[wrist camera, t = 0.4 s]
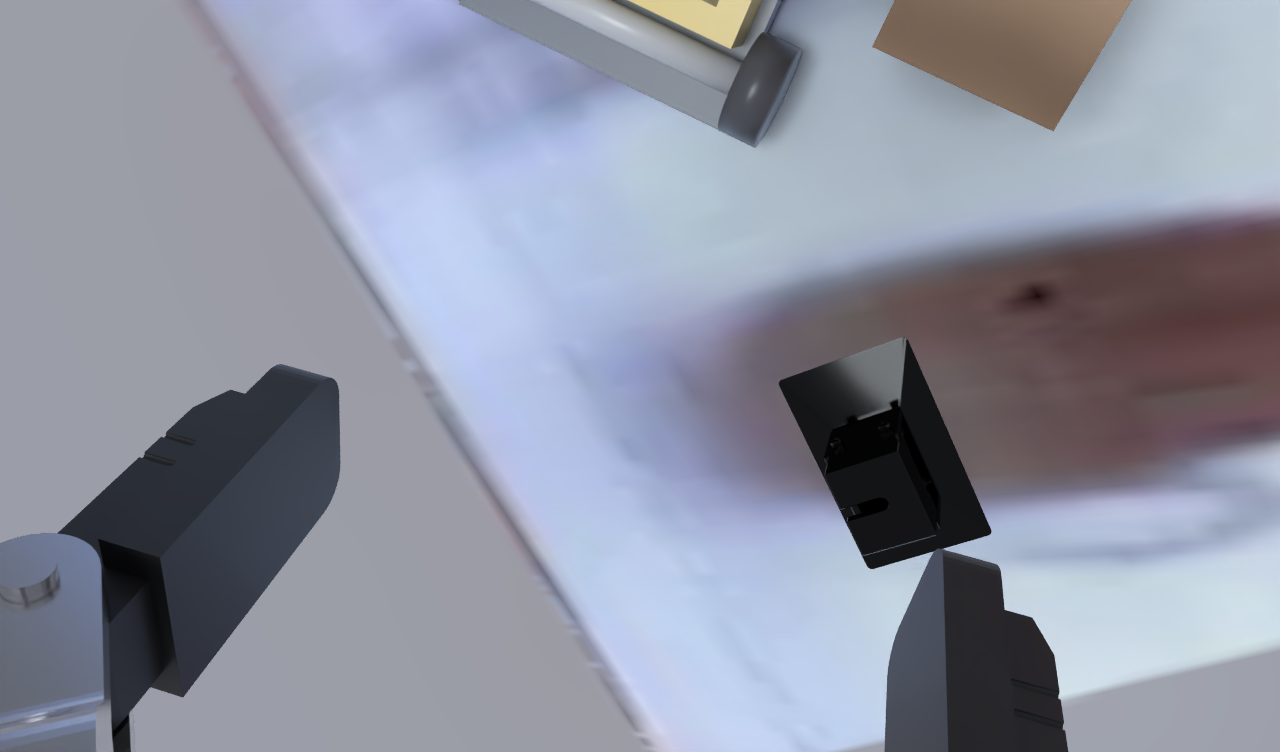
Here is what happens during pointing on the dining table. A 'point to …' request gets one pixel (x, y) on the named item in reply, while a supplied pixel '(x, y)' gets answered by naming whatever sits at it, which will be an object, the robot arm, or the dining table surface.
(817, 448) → the black angular machine part
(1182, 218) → the dining table surface
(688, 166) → the dining table surface
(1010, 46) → the brown wooden block
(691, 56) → the chassis
